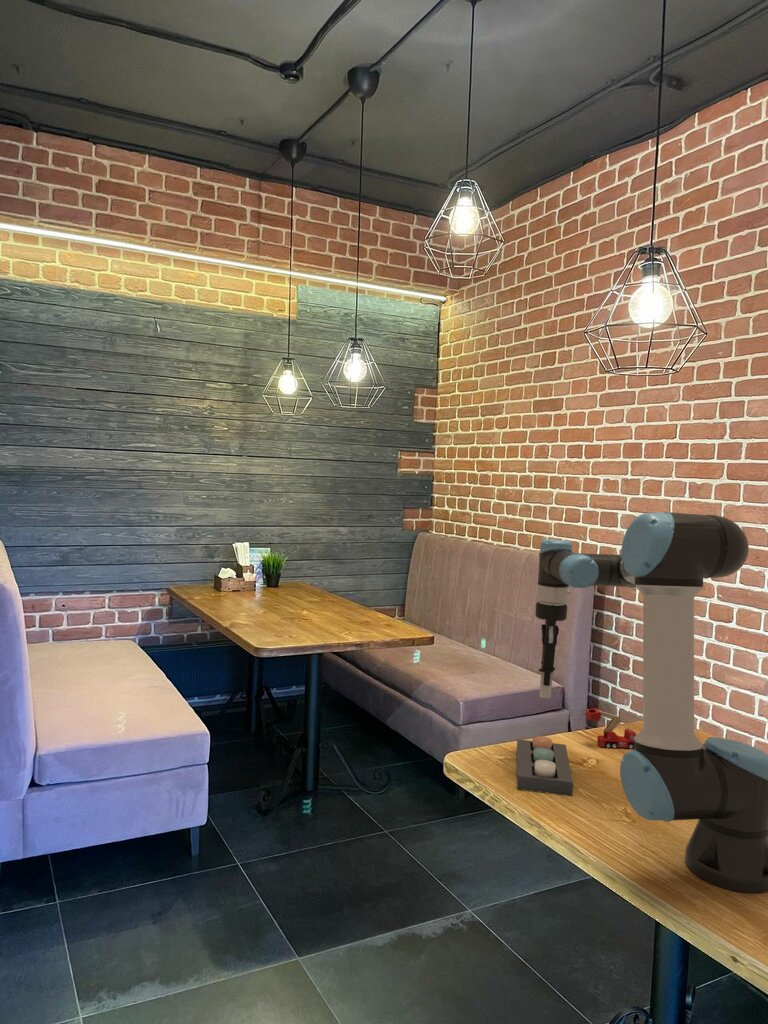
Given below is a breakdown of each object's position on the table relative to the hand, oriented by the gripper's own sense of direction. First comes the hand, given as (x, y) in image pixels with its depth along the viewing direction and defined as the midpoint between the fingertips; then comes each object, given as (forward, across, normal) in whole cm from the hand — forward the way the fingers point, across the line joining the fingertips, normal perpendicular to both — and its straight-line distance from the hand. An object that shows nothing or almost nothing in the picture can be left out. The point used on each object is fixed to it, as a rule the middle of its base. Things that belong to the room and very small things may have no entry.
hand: (545, 697), depth 187 cm
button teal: (+14, -8, 0) cm, 16 cm away
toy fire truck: (+16, +15, -19) cm, 29 cm away
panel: (+16, -8, 0) cm, 18 cm away
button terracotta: (+14, 0, 0) cm, 14 cm away
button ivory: (+14, -16, 0) cm, 21 cm away
